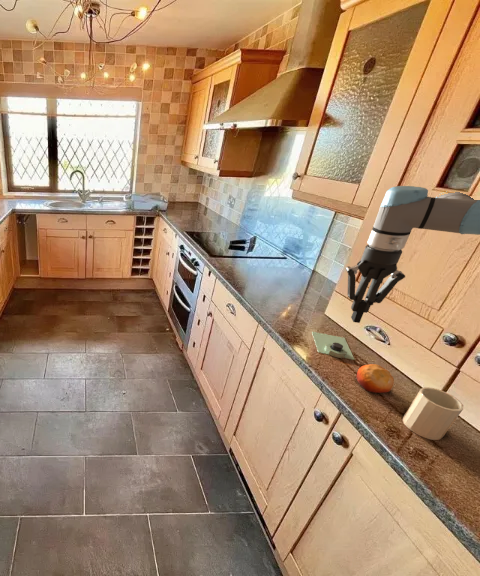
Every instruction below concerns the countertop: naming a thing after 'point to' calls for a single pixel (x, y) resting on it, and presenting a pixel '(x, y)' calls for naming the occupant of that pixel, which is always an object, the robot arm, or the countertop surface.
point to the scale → (326, 342)
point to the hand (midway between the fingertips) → (355, 320)
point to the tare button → (337, 347)
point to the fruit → (375, 378)
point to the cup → (432, 413)
